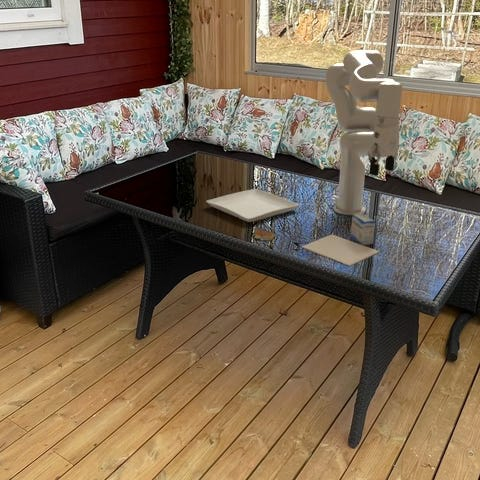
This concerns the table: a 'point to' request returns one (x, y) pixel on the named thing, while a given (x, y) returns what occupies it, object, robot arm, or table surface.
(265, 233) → the shard
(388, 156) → the robot arm
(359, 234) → the medicine box
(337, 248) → the mat
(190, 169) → the table surface
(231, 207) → the square plate
